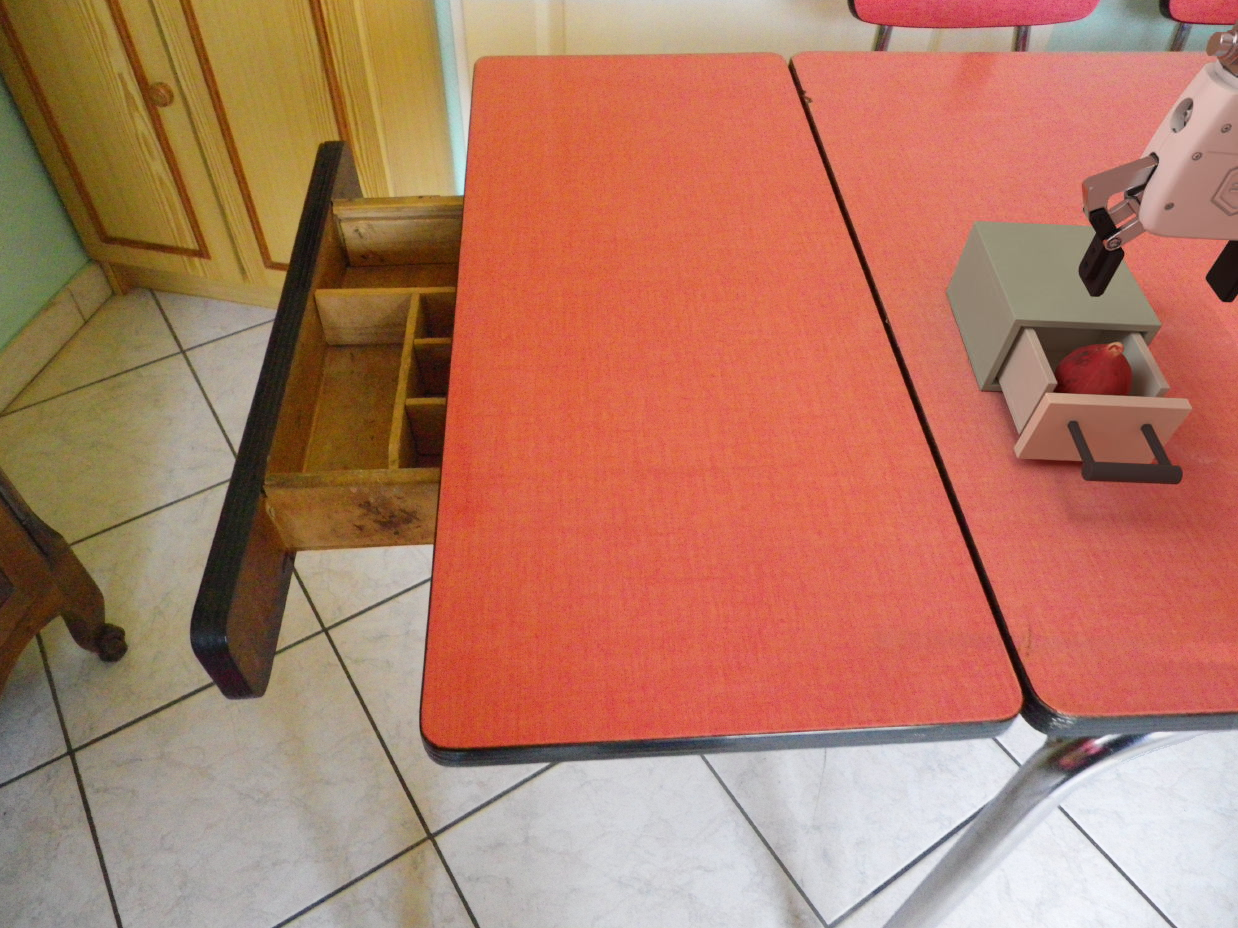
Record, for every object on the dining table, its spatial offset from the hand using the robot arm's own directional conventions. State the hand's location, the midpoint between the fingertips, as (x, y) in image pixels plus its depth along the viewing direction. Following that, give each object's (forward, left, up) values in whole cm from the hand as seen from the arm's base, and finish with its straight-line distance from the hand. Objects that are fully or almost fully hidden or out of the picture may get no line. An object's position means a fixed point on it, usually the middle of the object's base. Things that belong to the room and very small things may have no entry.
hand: (1153, 288), depth 64 cm
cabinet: (+7, -10, -16) cm, 20 cm away
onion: (0, 0, -14) cm, 14 cm away
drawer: (0, +1, -15) cm, 15 cm away
